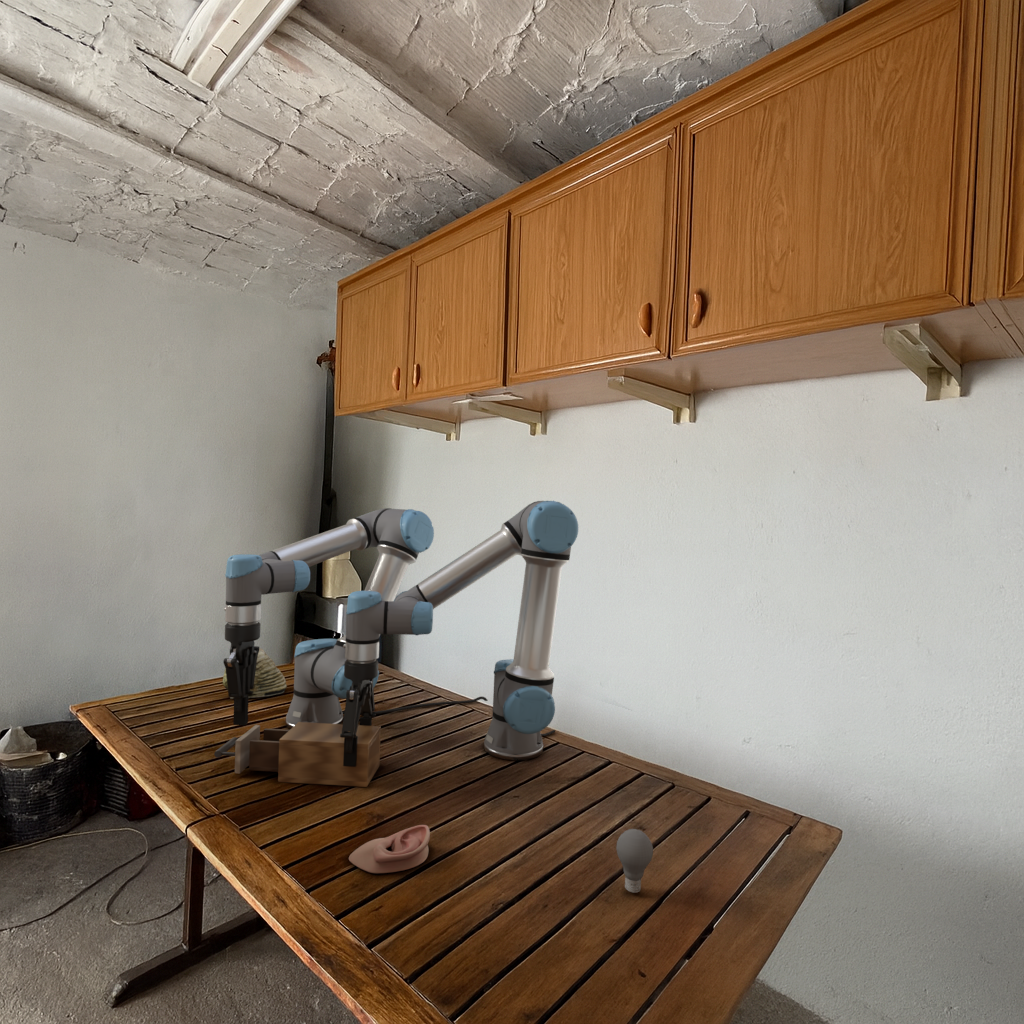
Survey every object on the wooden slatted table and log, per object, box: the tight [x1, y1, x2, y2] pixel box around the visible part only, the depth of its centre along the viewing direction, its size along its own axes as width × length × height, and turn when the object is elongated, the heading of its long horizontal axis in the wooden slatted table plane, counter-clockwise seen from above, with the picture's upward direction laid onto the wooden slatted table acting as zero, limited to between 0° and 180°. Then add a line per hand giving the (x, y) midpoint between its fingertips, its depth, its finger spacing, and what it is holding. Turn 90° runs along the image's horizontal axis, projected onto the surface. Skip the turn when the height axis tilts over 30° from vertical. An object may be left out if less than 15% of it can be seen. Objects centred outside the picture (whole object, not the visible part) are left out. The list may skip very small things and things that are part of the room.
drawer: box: [213, 724, 290, 774], centre depth 145 cm, size 24×10×7 cm, turn 87°
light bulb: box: [615, 828, 654, 894], centre depth 106 cm, size 6×6×10 cm
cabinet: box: [277, 722, 382, 788], centre depth 145 cm, size 20×11×10 cm, turn 87°
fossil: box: [222, 647, 288, 699], centre depth 198 cm, size 9×18×15 cm, turn 132°
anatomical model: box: [348, 824, 431, 874], centre depth 113 cm, size 13×4×12 cm
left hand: (240, 723), depth 146 cm, fingers closed
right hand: (357, 755), depth 145 cm, fingers closed on cabinet, 11 cm apart
